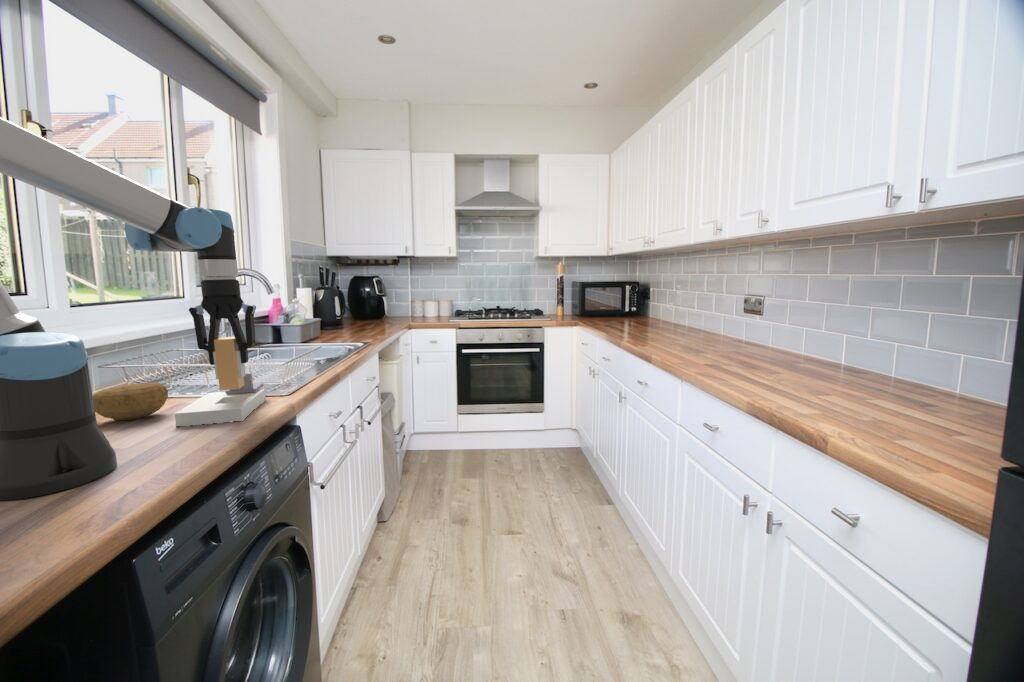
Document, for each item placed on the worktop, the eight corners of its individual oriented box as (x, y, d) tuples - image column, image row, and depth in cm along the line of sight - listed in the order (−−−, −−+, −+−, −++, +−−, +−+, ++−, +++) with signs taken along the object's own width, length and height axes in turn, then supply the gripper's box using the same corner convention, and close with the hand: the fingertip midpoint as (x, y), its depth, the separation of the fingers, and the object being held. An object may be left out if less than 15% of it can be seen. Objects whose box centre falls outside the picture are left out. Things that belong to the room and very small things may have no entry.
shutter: (255, 392, 114) (253, 373, 113) (225, 394, 112) (223, 375, 112) (263, 385, 121) (261, 368, 120) (235, 387, 119) (233, 370, 118)
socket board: (242, 421, 101) (240, 408, 100) (176, 426, 98) (174, 413, 97) (265, 400, 118) (264, 389, 118) (210, 404, 115) (208, 392, 115)
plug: (238, 389, 106) (233, 339, 104) (219, 390, 105) (213, 339, 103) (244, 385, 110) (239, 336, 108) (226, 386, 109) (220, 337, 107)
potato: (99, 418, 105) (94, 384, 104) (173, 408, 112) (169, 377, 111) (86, 430, 97) (80, 394, 96) (167, 418, 104) (162, 385, 102)
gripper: (265, 277, 109) (274, 371, 113) (185, 279, 105) (197, 376, 109) (255, 278, 102) (265, 378, 106) (169, 279, 98) (183, 383, 102)
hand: (231, 377), depth 107 cm, fingers closed on plug, 4 cm apart
